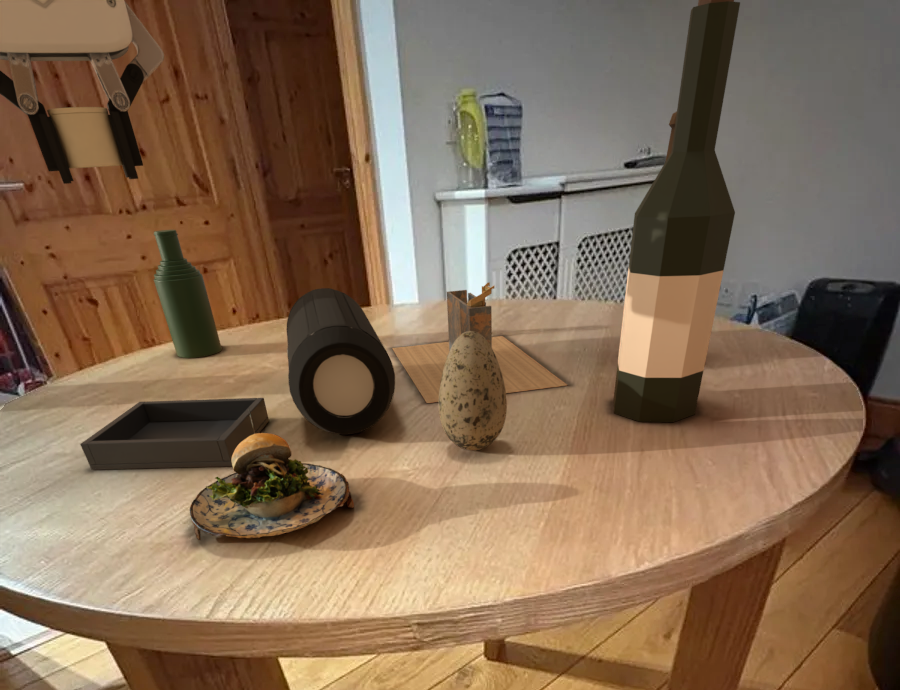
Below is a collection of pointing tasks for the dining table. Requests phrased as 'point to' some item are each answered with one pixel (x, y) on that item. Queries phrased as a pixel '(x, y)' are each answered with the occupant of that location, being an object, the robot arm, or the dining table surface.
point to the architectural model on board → (477, 317)
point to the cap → (86, 136)
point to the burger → (267, 492)
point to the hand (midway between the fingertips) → (100, 178)
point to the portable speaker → (337, 363)
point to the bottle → (184, 300)
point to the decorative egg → (472, 393)
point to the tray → (176, 434)
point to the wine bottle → (680, 240)
